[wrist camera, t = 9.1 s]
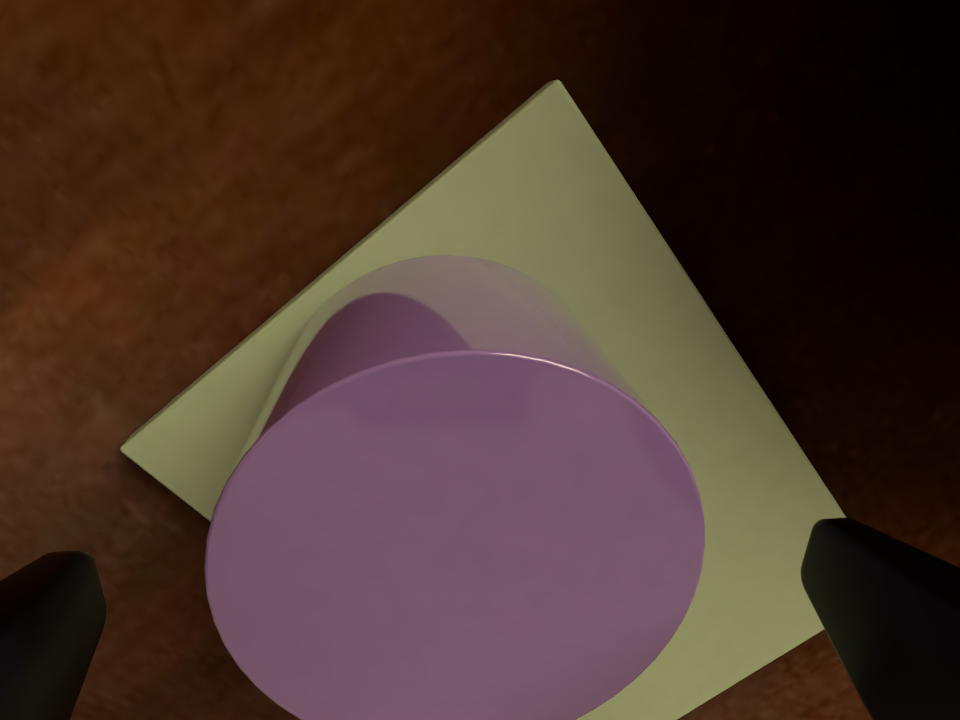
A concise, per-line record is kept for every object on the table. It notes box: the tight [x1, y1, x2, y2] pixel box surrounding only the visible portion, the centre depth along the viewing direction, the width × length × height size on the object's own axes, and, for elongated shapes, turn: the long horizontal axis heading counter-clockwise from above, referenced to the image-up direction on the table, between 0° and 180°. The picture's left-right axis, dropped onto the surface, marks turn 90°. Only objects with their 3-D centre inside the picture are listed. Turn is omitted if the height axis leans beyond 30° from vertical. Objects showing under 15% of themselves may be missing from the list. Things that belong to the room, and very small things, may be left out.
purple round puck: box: [204, 255, 705, 720], centre depth 9 cm, size 6×6×4 cm
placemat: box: [120, 80, 846, 720], centre depth 13 cm, size 14×10×1 cm
